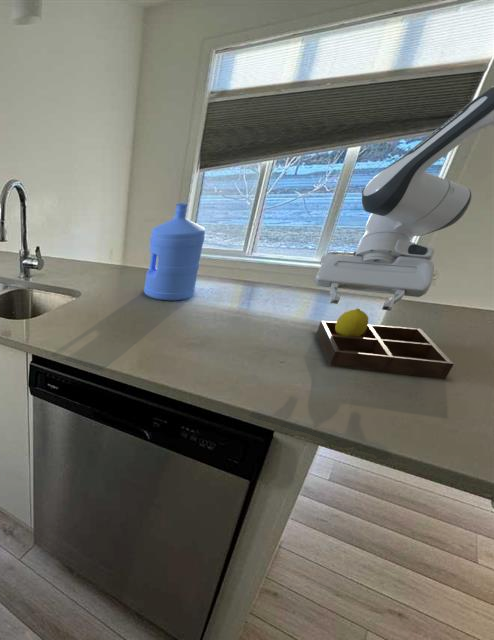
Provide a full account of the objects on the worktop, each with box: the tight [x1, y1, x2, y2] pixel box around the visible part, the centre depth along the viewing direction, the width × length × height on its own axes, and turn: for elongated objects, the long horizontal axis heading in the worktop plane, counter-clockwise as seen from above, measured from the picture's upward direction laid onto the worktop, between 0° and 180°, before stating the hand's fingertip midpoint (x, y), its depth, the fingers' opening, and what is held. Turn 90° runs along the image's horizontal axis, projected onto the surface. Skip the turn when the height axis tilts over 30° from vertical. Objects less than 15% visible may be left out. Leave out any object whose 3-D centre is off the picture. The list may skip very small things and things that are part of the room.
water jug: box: [143, 202, 206, 302], centre depth 129 cm, size 16×16×28 cm
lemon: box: [335, 308, 369, 337], centre depth 94 cm, size 6×6×8 cm
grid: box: [315, 320, 455, 380], centre depth 90 cm, size 18×18×4 cm
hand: (359, 305), depth 95 cm, fingers open, 8 cm apart
